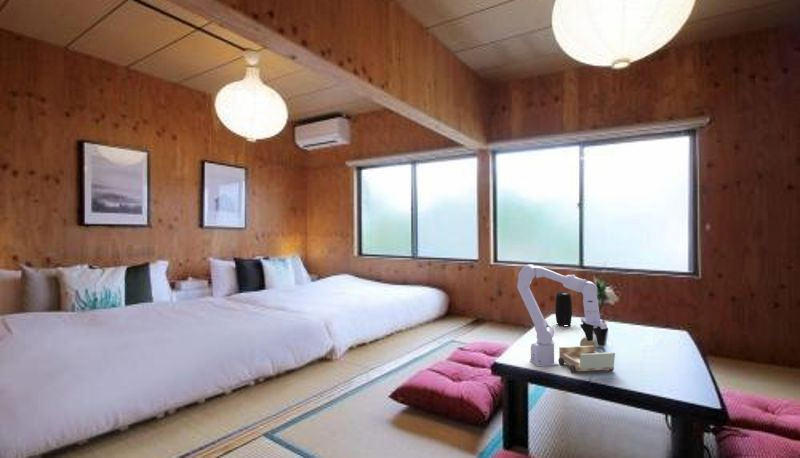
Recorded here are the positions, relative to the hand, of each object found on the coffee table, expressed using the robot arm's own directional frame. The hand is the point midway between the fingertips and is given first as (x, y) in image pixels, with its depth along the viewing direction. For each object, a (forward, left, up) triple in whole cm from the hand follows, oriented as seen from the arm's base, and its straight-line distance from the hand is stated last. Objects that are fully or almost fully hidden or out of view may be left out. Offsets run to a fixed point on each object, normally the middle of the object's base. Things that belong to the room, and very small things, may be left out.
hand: (595, 342), depth 170 cm
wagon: (-3, +3, -12) cm, 12 cm away
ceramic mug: (+13, +23, -12) cm, 29 cm away
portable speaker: (+25, +71, -12) cm, 76 cm away
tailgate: (-3, -5, -9) cm, 10 cm away
